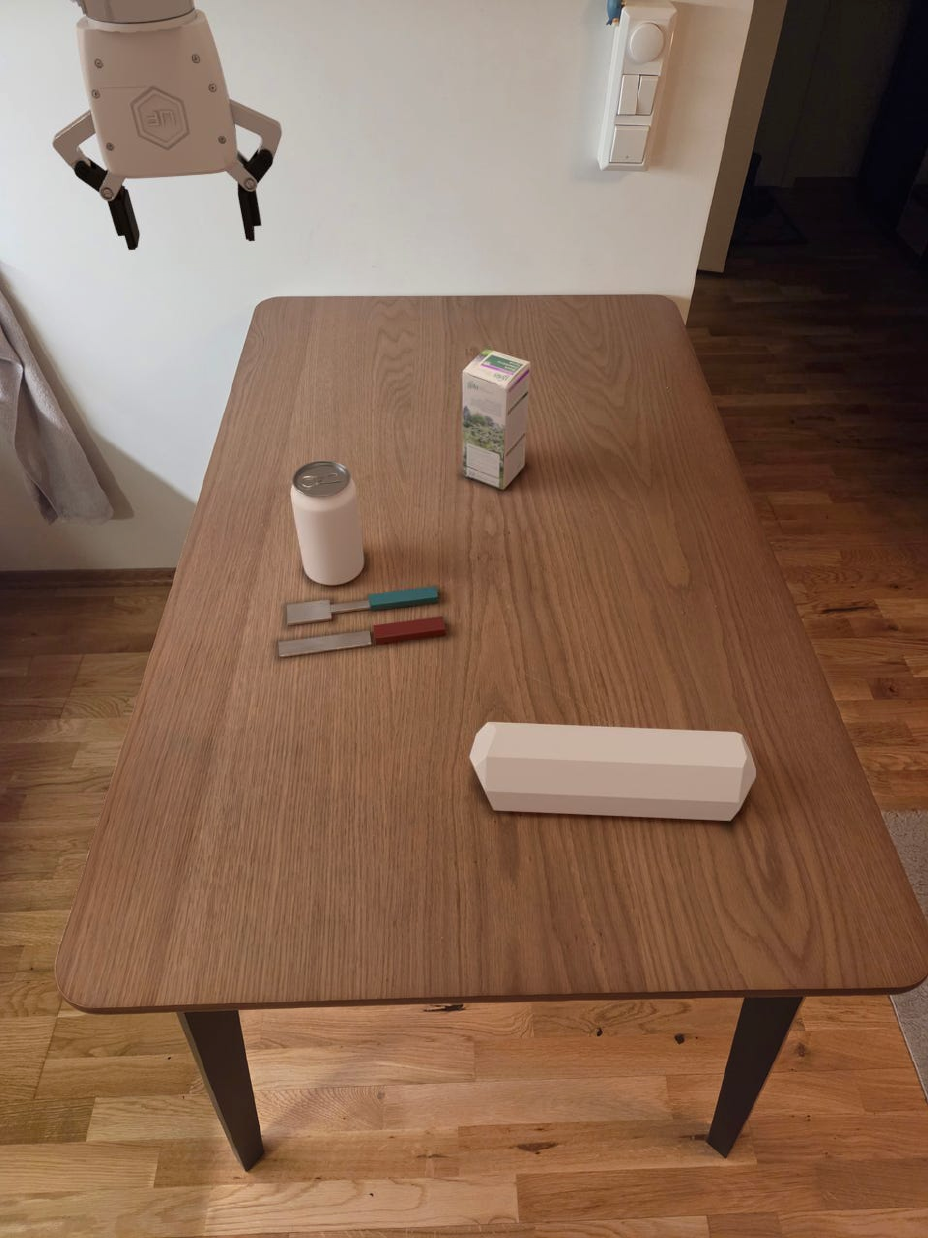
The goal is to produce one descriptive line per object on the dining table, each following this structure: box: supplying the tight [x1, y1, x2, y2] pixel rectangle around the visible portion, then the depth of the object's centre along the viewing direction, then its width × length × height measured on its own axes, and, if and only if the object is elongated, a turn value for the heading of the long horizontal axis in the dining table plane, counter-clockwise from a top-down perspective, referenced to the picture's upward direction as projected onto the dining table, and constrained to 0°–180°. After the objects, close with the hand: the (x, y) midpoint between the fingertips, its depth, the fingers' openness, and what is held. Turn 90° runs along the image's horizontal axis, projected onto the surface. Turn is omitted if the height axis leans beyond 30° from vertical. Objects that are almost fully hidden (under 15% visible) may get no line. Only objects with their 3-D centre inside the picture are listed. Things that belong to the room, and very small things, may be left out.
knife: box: [278, 615, 446, 658], centre depth 85 cm, size 16×2×1 cm, turn 100°
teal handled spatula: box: [286, 585, 439, 626], centre depth 88 cm, size 15×3×1 cm, turn 100°
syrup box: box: [461, 348, 531, 491], centre depth 98 cm, size 6×6×14 cm
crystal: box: [468, 721, 757, 822], centre depth 73 cm, size 7×7×24 cm
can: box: [290, 459, 365, 587], centre depth 88 cm, size 6×6×12 cm
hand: (193, 238), depth 73 cm, fingers open, 9 cm apart
